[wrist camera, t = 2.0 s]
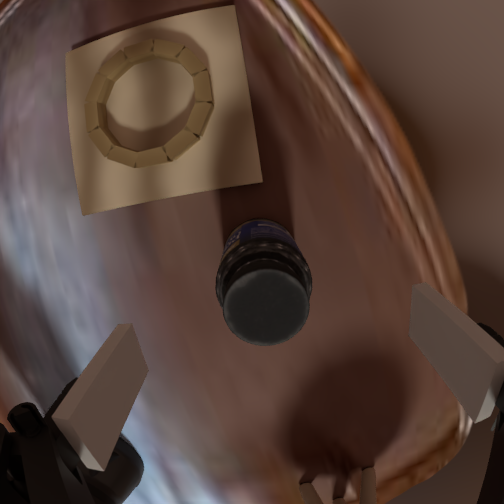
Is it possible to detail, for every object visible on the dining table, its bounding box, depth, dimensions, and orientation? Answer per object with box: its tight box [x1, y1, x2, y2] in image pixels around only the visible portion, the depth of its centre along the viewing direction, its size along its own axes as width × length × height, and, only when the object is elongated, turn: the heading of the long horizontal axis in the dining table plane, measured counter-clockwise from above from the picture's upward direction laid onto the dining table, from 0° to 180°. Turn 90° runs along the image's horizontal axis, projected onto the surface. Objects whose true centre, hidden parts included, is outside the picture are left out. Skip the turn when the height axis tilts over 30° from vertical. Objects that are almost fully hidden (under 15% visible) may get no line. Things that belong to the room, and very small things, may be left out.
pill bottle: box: [216, 219, 312, 346], centre depth 22 cm, size 6×6×11 cm
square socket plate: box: [66, 5, 263, 216], centre depth 22 cm, size 16×16×3 cm
